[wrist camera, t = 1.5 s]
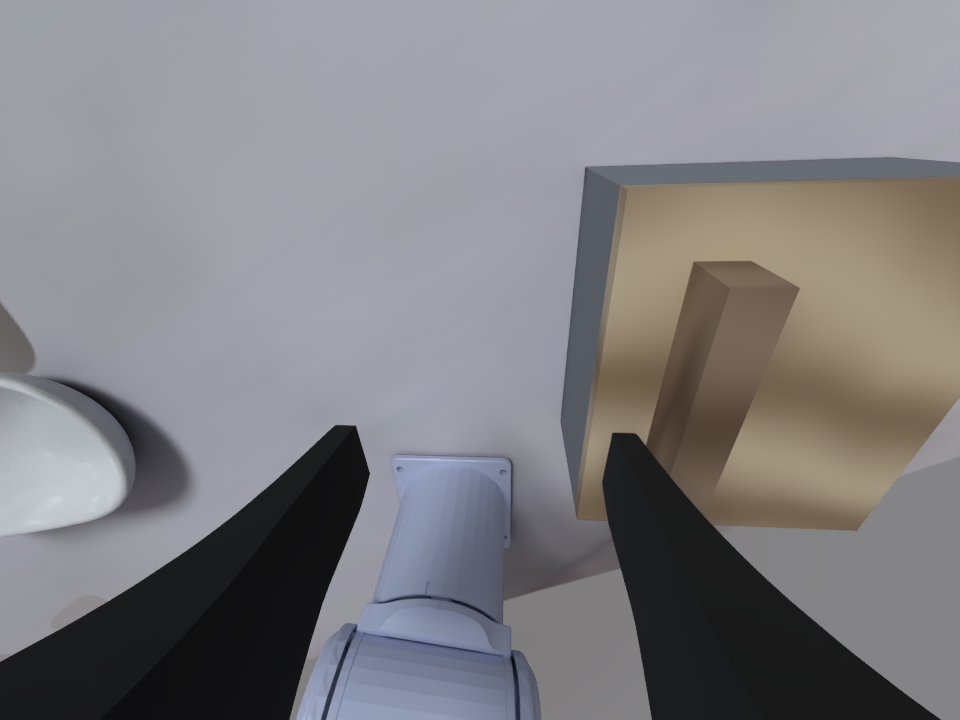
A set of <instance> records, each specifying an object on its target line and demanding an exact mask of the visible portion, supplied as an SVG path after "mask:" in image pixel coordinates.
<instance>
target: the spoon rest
mask: <svg viewBox="0 0 960 720" xmlns="http://www.w3.org/2000/svg"><path fill="white" fill-rule="evenodd" d="M135 468H136V465H135V456H134V451H133V448H132V445H131V442H130V440H129V438H128V436H127V434H126V432H125V430H124V429H123V428H122V426H121V425H120V423H119V422H118V421H117V420H116V419H115V418H114V417H113V416H112V415H111V414H110V413H109V412H108V411H107V410H106V409H104V408H103V407H102V406H101V405H100V404H98V403H97V402H95V401H94V400H92V399H91V398H89V397H87V396H86V395H84V394H82V393H80V392H78V391H76V390H74V389H72V388H70V387H67V386H65V385H62V384H60V383H57V382H54V381H51V380H48V379H44V378H40V377H36V376H32V375H25V374H18V373H9V372H0V538H3V537H9V536H15V535H21V534H27V533H34V532H40V531H45V530H51V529H57V528H62V527H67V526H71V525H76V524H81V523H86V522H90V521H93V520H96V519H99V518H101V517H104V516H106V515H109V514H110V513H112V512H114V511H115V510H117V509H118V508H119V507H120V506H121V505H122V504H123V503H124V502H125V501H126V499H127V497H128V496H129V494H130V491H131V489H132V486H133V483H134V478H135Z"/></svg>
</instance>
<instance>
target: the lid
mask: <svg viewBox="0 0 960 720" xmlns="http://www.w3.org/2000/svg"><path fill="white" fill-rule="evenodd" d="M959 397H960V176H944V177H907V178H871V179H835V180H799V181H762V182H726V183H690V184H654V185H621V186H620V192H619V199H618V206H617V213H616V220H615V227H614V234H613V241H612V248H611V255H610V262H609V269H608V276H607V283H606V290H605V297H604V304H603V311H602V317H601V324H600V331H599V338H598V345H597V352H596V359H595V366H594V373H593V380H592V387H591V394H590V401H589V408H588V415H587V422H586V429H585V436H584V442H583V449H582V456H581V463H580V470H579V477H578V484H577V491H576V498H575V511H576V517H577V520H600V521H608V519H607V513H606V507H605V500H604V493H603V486H602V480H603V475H604V470H605V466H606V461H607V456H608V451H609V447H610V442H611V437H612V433H636V434H637V435H638V436H639V437H640V439H641V440H642V441H643V443H644V444H645V445H646V446H647V448H648V449H649V450H650V452H651V453H652V454H653V456H654V457H655V458H656V459H657V461H658V462H659V463H660V464H661V466H662V467H663V468H664V469H665V471H666V472H667V473H668V474H669V476H670V477H671V478H672V479H673V481H674V482H675V483H676V484H677V485H678V487H679V488H680V489H681V490H682V491H683V492H684V494H685V495H686V496H687V497H688V498H689V499H690V501H691V502H692V503H693V504H694V505H695V506H696V508H697V509H698V510H699V511H700V512H701V513H702V514H703V515H704V517H705V518H706V519H707V520H708V521H709V522H710V523H711V524H712V525H726V526H751V527H752V526H753V527H778V528H803V529H829V530H853V531H857V530H858V528H859V527H860V526H861V525H862V523H863V522H864V521H865V519H866V518H867V517H868V515H869V514H870V513H871V511H872V510H873V509H874V507H875V506H876V505H877V504H878V502H879V501H880V500H881V499H882V497H883V496H884V495H885V493H886V492H887V491H888V489H889V488H890V487H891V485H892V484H893V483H894V482H895V480H896V479H897V478H898V477H899V475H900V474H901V473H902V471H903V470H904V469H905V467H906V466H907V465H908V464H909V462H910V461H911V460H912V458H913V457H914V456H915V454H916V453H917V452H918V451H919V449H920V448H921V447H922V445H923V444H924V443H925V441H926V440H927V439H928V438H929V436H930V435H931V434H932V432H933V431H934V430H935V428H936V427H937V426H938V425H939V423H940V422H941V421H942V419H943V418H944V417H945V416H946V414H947V413H948V412H949V410H950V409H951V408H952V406H953V405H954V404H955V403H956V401H957V400H958V399H959Z"/></svg>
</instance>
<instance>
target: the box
mask: <svg viewBox="0 0 960 720" xmlns="http://www.w3.org/2000/svg"><path fill="white" fill-rule="evenodd" d="M944 176H960V163H959V162H946V161H933V160H920V159H907V158H894V157H885V158H853V159H821V160H789V161H758V162H726V163H694V164H663V165H631V166H599V167H585V177H584V187H583V197H582V207H581V217H580V228H579V238H578V248H577V258H576V268H575V279H574V289H573V299H572V309H571V320H570V330H569V340H568V350H567V360H566V371H565V381H564V391H563V401H562V411H561V427H562V433H563V439H564V445H565V451H566V457H567V463H568V469H569V475H570V481H571V487H572V493H573V499H574V503H575V498H576V491H577V484H578V477H579V470H580V463H581V456H582V449H583V442H584V436H585V429H586V422H587V415H588V408H589V401H590V394H591V387H592V380H593V373H594V366H595V359H596V352H597V345H598V338H599V331H600V324H601V317H602V311H603V304H604V297H605V290H606V283H607V276H608V269H609V262H610V255H611V248H612V241H613V234H614V227H615V220H616V213H617V206H618V199H619V192H620V186H621V185H654V184H690V183H726V182H762V181H799V180H835V179H871V178H907V177H944Z"/></svg>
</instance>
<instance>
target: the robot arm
mask: <svg viewBox="0 0 960 720" xmlns="http://www.w3.org/2000/svg"><path fill="white" fill-rule="evenodd" d="M392 466H393V471H394V476H395V480H396V485H397V489H398V494H399V499H400V503H401V504H400V507H399V511H398V514H397V518H396V521H395V524H394V528H393V531H392V535H391V538H390V541H389V545H388V548H387V552H386V555H385V558H384V562H383V565H382V568H381V572H380V575H379V579H378V582H377V585H376V589H375V592H374V596H373V599H372V602H371V603H365V604H364V607H363V610H362V614H361V617H360V620H359V623H358V626H357V624H352V623H346V624H344V625H343V626H342V627H341V628H340V630H339V631H337V632H336V633H335V634H334V635H332V636H331V637H330V638H329V639H328V641H327V642H326V644H325V646H324V648H323V650H322V652H321V654H320V656H319V658H318V661H317V663H316V665H315V668H314V670H313V672H312V675H311V678H310V680H309V683H308V686H307V688H306V691H305V694H304V697H303V700H302V703H301V706H300V709H299V712H298V715H297V719H296V720H541V711H540V700H539V693H538V687H537V682H536V679H535V675H534V673H533V671H532V669H531V668H530V666H529V664H528V663H527V660H526V658H525V656H524V655H523V653H521V652H520V651H516V650H511V627H510V626H506V625H503V587H504V549H506V548H508V547H510V521H511V461H510V460H509V459H507V458H491V457H454V456H418V455H396V456H394V458H393V460H392ZM401 467H402V468H401ZM502 470H506V471H502ZM369 475H370V472H369V469H368V466H367V462H366V459H365V455H364V452H363V449H362V445H361V442H360V438H359V435H358V432H357V428H356V426H348V425H335V426H334V427H333V428H332V429H331V430H330V431H328V432H327V433H326V434H325V435H324V436H323V437H322V438H321V439H320V440H319V441H318V442H317V443H316V444H315V445H314V446H312V447H311V448H310V449H309V450H308V451H307V452H306V453H305V454H304V455H303V456H302V457H301V458H300V459H299V460H297V461H296V462H295V463H294V464H293V465H292V466H291V467H290V468H289V469H288V470H287V471H285V472H284V473H283V474H282V475H281V476H280V477H279V478H278V479H277V480H276V481H274V482H273V483H272V484H271V485H270V486H269V487H267V488H266V489H265V490H264V491H263V492H261V493H260V494H259V495H258V496H257V497H256V498H254V499H253V500H252V501H251V502H250V503H248V504H247V505H246V506H245V507H244V508H243V509H241V510H240V511H239V512H238V513H236V514H235V515H234V516H233V517H231V518H230V519H229V520H228V521H226V522H225V523H224V524H222V525H221V526H220V527H219V528H217V529H216V530H214V531H213V532H212V533H210V534H209V535H208V536H206V537H205V538H204V539H202V540H201V541H200V542H198V543H197V544H195V545H194V546H193V547H191V548H190V549H188V550H187V551H186V552H184V553H183V554H181V555H180V556H178V557H177V558H175V559H174V560H172V561H171V562H169V563H168V564H166V565H165V566H163V567H162V568H160V569H159V570H157V571H156V572H154V573H153V574H151V575H150V576H148V577H147V578H145V579H144V580H142V581H141V582H139V583H137V584H136V585H134V586H133V587H131V588H129V589H128V590H126V591H125V592H123V593H121V594H120V595H118V596H116V597H115V598H113V599H112V600H110V601H108V602H107V603H105V604H103V605H101V606H100V607H98V608H96V609H95V610H93V611H91V612H90V613H88V614H86V615H85V616H83V617H81V618H79V619H78V620H76V621H74V622H72V623H71V624H69V625H67V626H65V627H64V628H62V629H60V630H58V631H56V632H55V633H53V634H51V635H49V636H47V637H45V638H43V639H42V640H40V641H38V642H36V643H34V644H32V645H31V646H29V647H27V648H25V649H23V650H21V651H19V652H18V653H16V654H14V655H12V656H10V657H8V658H7V659H5V660H3V661H1V662H0V720H289V718H290V715H291V711H292V707H293V703H294V699H295V696H296V692H297V688H298V684H299V680H300V677H301V674H302V670H303V667H304V663H305V660H306V656H307V653H308V649H309V646H310V642H311V639H312V636H313V632H314V629H315V626H316V623H317V620H318V616H319V613H320V610H321V607H322V603H323V601H324V598H325V595H326V592H327V590H328V587H329V584H330V582H331V580H332V577H333V575H334V572H335V570H336V567H337V565H338V562H339V560H340V558H341V555H342V553H343V550H344V548H345V545H346V543H347V541H348V538H349V536H350V533H351V531H352V528H353V526H354V523H355V521H356V518H357V516H358V513H359V511H360V508H361V505H362V501H363V498H364V494H365V491H366V487H367V483H368V479H369ZM602 486H603V493H604V500H605V507H606V513H607V519H608V523H609V526H610V530H611V534H612V538H613V541H614V545H615V549H616V553H617V556H618V560H619V563H620V567H621V571H622V574H623V578H624V582H625V585H626V589H627V592H628V596H629V600H630V604H631V608H632V612H633V616H634V621H635V625H636V630H637V635H638V641H639V646H640V652H641V658H642V663H643V669H644V675H645V681H646V686H647V692H648V698H649V705H650V710H651V716H652V720H940V719H939V718H938V717H936V716H935V715H934V714H932V713H931V712H929V711H928V710H926V709H925V708H924V707H923V706H921V705H920V704H918V703H917V702H916V701H914V700H913V699H912V698H910V697H909V696H907V695H906V694H905V693H903V692H902V691H901V690H899V689H898V688H897V687H896V686H894V685H893V684H892V683H890V682H889V681H888V680H887V679H885V678H884V677H883V676H881V675H880V674H879V673H878V672H876V671H875V670H874V669H872V668H871V667H870V666H868V665H867V664H866V663H865V662H863V661H862V660H861V659H860V658H858V657H857V656H856V655H854V654H853V653H852V652H851V651H849V650H848V649H847V648H846V647H845V646H843V645H842V644H841V643H840V642H839V641H837V640H836V639H835V638H834V637H833V636H831V635H830V634H829V633H828V632H827V631H825V630H824V629H823V628H822V627H821V626H819V625H818V624H817V623H816V622H815V621H814V620H812V619H811V618H810V617H809V616H807V615H806V614H805V613H804V612H803V611H802V610H800V609H799V608H798V607H797V606H796V605H795V604H793V603H792V602H791V601H790V600H789V599H788V598H787V597H785V596H784V595H783V594H782V593H781V592H780V591H779V590H778V589H777V588H776V587H774V586H773V585H772V584H771V583H770V582H769V581H767V579H766V578H764V576H762V575H761V574H760V573H759V572H758V571H757V570H756V569H755V568H754V567H753V566H752V565H751V564H750V563H749V562H748V561H747V560H746V559H745V558H744V557H743V556H742V555H741V554H740V553H739V552H738V551H737V550H736V549H735V548H734V547H733V546H732V545H731V544H730V543H729V542H728V541H727V540H726V539H725V538H724V537H723V536H722V535H721V534H720V533H719V532H718V531H717V529H716V528H715V527H714V526H713V525H712V524H711V523H710V522H709V521H708V520H707V519H706V518H705V517H704V515H703V514H702V513H701V512H700V511H699V510H698V509H697V508H696V506H695V505H694V504H693V503H692V502H691V501H690V499H689V498H688V497H687V496H686V495H685V494H684V492H683V491H682V490H681V489H680V488H679V487H678V485H677V484H676V483H675V482H674V481H673V479H672V478H671V477H670V476H669V474H668V473H667V472H666V471H665V469H664V468H663V467H662V466H661V464H660V463H659V462H658V461H657V459H656V458H655V457H654V456H653V454H652V453H651V452H650V450H649V449H648V448H647V446H646V445H645V444H644V443H643V441H642V440H641V439H640V437H639V436H638V435H637V434H636V433H612V437H611V442H610V447H609V451H608V456H607V461H606V466H605V470H604V475H603V480H602Z"/></svg>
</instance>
